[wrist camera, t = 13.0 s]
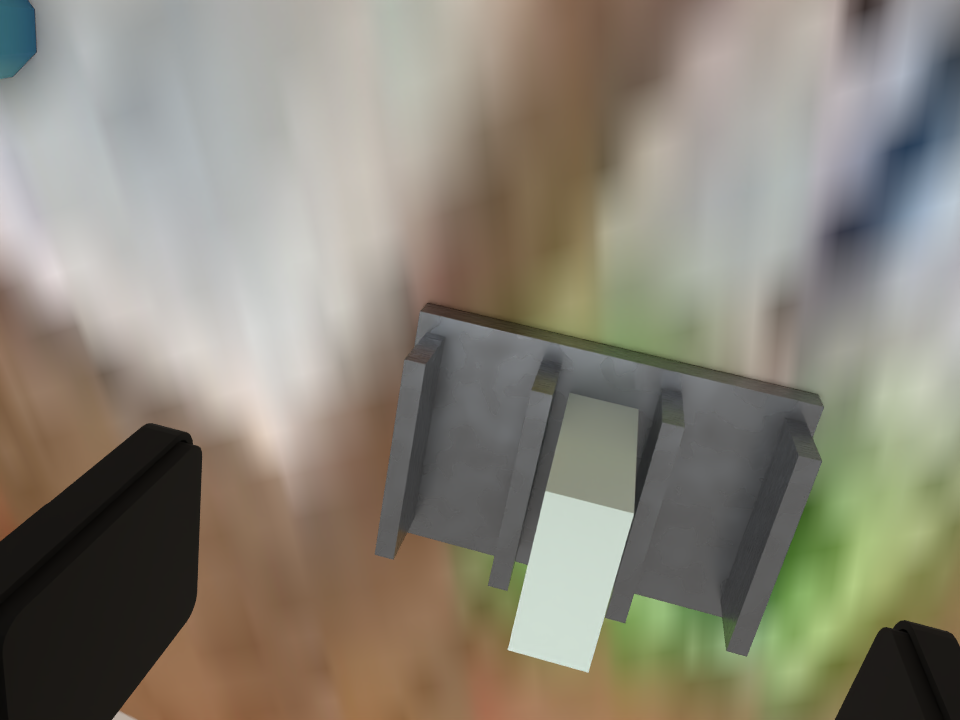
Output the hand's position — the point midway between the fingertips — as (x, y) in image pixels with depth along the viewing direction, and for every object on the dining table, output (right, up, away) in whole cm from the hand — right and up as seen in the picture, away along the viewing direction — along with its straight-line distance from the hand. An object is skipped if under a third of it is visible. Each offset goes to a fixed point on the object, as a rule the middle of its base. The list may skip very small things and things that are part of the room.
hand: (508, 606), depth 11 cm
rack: (+5, -2, +33) cm, 33 cm away
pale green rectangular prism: (+5, -2, +31) cm, 32 cm away
